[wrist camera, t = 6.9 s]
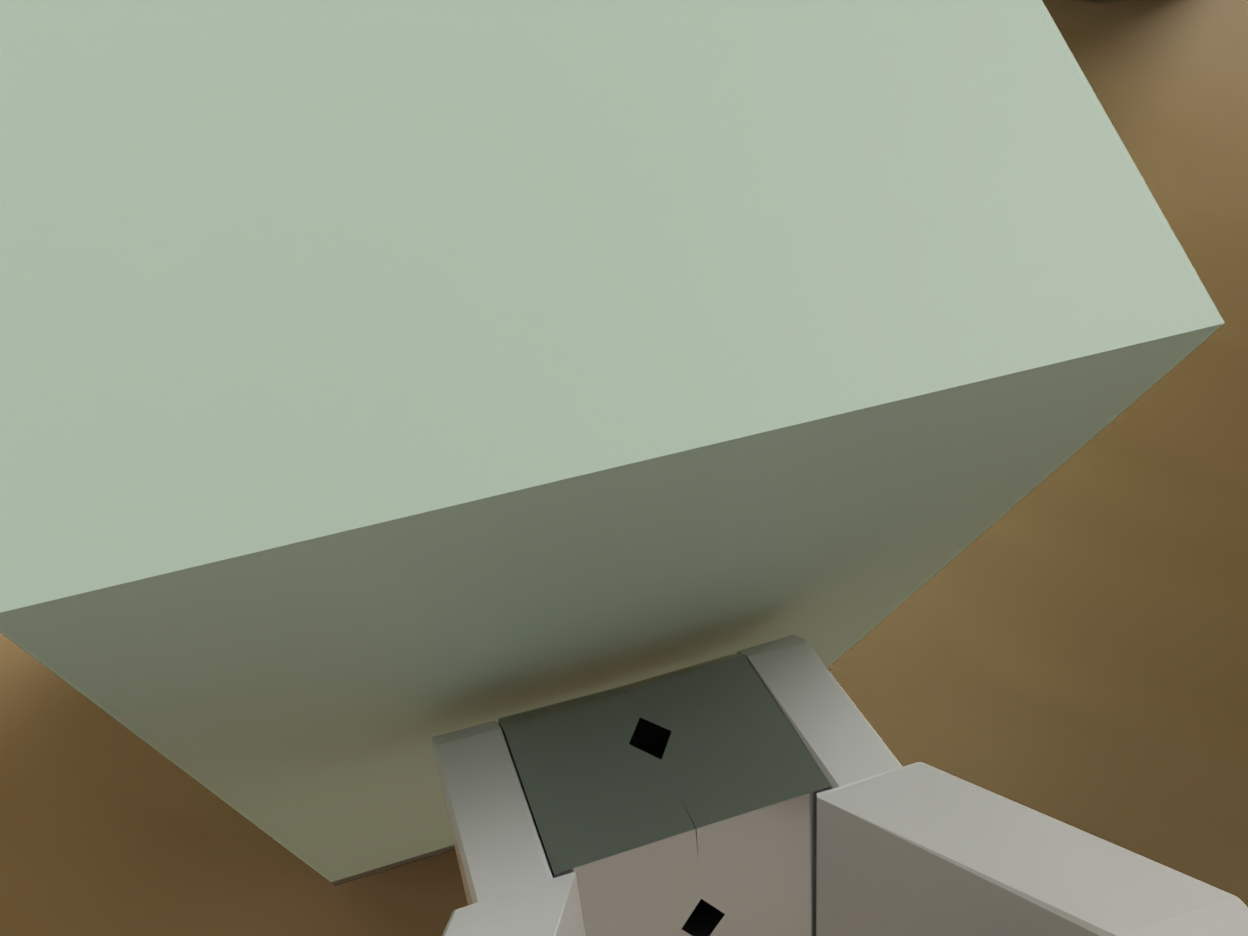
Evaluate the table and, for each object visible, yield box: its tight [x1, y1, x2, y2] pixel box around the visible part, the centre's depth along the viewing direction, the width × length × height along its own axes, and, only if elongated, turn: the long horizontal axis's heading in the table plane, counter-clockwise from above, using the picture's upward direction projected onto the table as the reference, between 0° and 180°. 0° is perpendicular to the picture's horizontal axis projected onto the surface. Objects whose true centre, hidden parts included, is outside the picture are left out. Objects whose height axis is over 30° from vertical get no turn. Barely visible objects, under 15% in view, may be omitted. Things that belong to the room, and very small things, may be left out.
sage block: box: [0, 0, 1225, 885], centre depth 13 cm, size 6×6×14 cm
